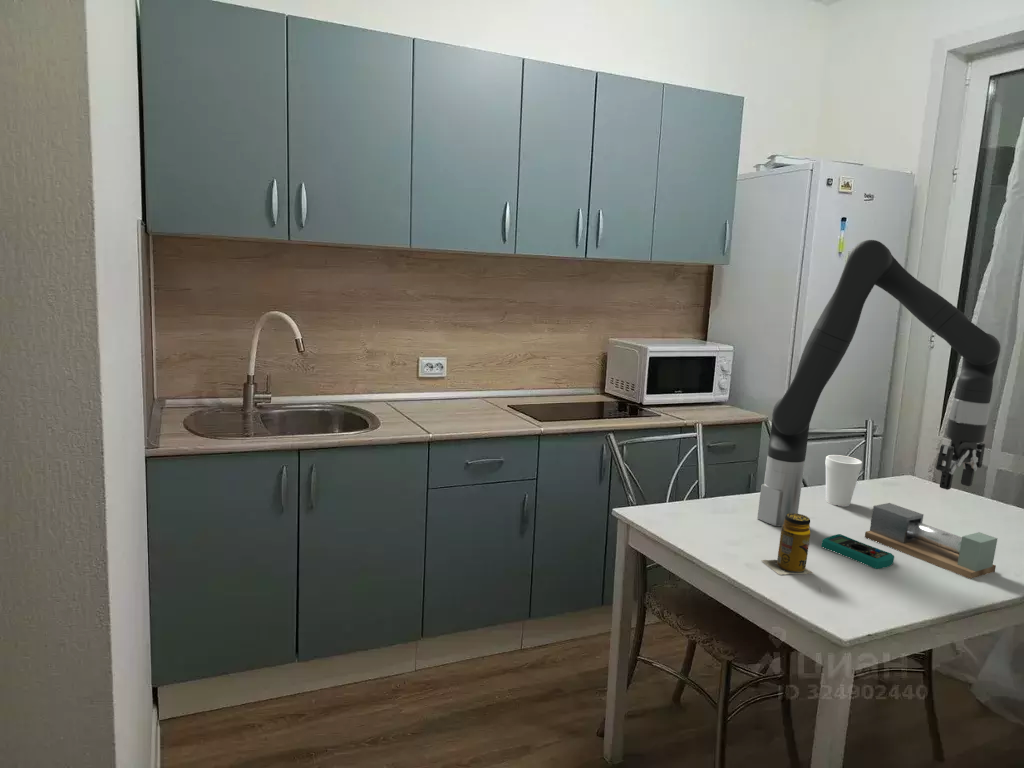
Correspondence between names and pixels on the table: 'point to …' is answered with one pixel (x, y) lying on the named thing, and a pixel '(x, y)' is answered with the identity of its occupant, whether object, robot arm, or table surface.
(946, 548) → the tube
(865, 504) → the table surface
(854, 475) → the foam cup
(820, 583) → the table surface
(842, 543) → the digital multimeter
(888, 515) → the sleeve
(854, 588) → the table surface
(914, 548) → the board
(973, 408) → the robot arm
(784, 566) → the condiment
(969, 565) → the socket
